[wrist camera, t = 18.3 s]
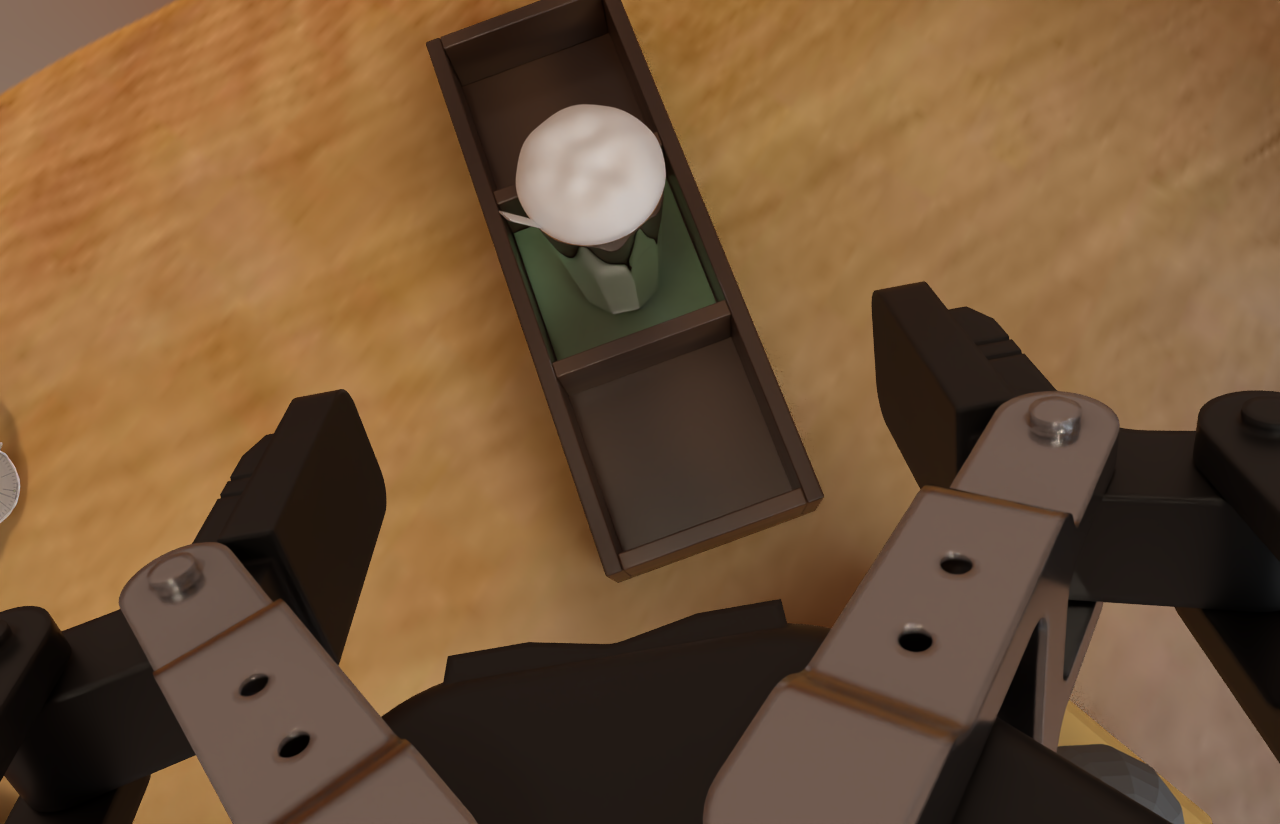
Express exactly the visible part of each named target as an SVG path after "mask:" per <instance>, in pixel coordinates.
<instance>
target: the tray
mask: <svg viewBox="0 0 1280 824" xmlns="http://www.w3.org/2000/svg"><path fill="white" fill-rule="evenodd" d="M426 46H427V49H428V52H429V55H430V58H431V61H432V64H433V67H434V70H435V73H436V76H437V79H438V82H439V85H440V87H441V90H442V93H443V96H444V99H445V102H446V105H447V108H448V111H449V114H450V117H451V120H452V123H453V126H454V129H455V132H456V135H457V138H458V141H459V144H460V147H461V149H462V152H463V155H464V158H465V161H466V164H467V167H468V170H469V173H470V176H471V179H472V182H473V185H474V188H475V191H476V194H477V197H478V200H479V203H480V206H481V209H482V211H483V214H484V217H485V220H486V223H487V226H488V229H489V232H490V235H491V238H492V241H493V244H494V247H495V250H496V253H497V256H498V259H499V262H500V265H501V268H502V271H503V273H504V276H505V279H506V282H507V285H508V288H509V291H510V294H511V297H512V300H513V303H514V306H515V309H516V312H517V315H518V318H519V321H520V324H521V327H522V330H523V332H524V335H525V338H526V341H527V344H528V347H529V350H530V353H531V356H532V359H533V362H534V365H535V368H536V371H537V374H538V377H539V380H540V383H541V386H542V389H543V392H544V394H545V397H546V400H547V403H548V406H549V409H550V412H551V415H552V418H553V421H554V424H555V427H556V430H557V433H558V436H559V439H560V442H561V445H562V448H563V451H564V454H565V456H566V459H567V462H568V465H569V468H570V471H571V474H572V477H573V480H574V483H575V486H576V489H577V492H578V495H579V498H580V501H581V504H582V507H583V510H584V513H585V516H586V518H587V521H588V524H589V527H590V530H591V533H592V536H593V539H594V542H595V545H596V548H597V551H598V554H599V557H600V560H601V563H602V566H603V569H604V572H605V575H606V576H607V577H609V578H610V579H612V580H614V581H616V582H618V583H619V582H622V581H624V580H627V579H630V578H633V577H635V576H638V575H641V574H644V573H646V572H649V571H652V570H654V569H657V568H660V567H663V566H665V565H668V564H671V563H674V562H676V561H679V560H682V559H685V558H687V557H690V556H693V555H695V554H698V553H701V552H704V551H706V550H709V549H712V548H715V547H717V546H720V545H723V544H726V543H728V542H731V541H734V540H737V539H739V538H742V537H745V536H747V535H750V534H753V533H756V532H758V531H761V530H764V529H767V528H769V527H772V526H775V525H778V524H780V523H783V522H786V521H788V520H791V519H794V518H797V517H799V516H802V515H805V514H808V513H810V512H813V511H815V510H816V509H817V507H818V506H819V504H820V502H821V501H822V499H823V498H824V494H823V492H822V489H821V487H820V485H819V482H818V480H817V477H816V475H815V472H814V470H813V468H812V465H811V463H810V460H809V458H808V455H807V453H806V450H805V448H804V446H803V443H802V441H801V438H800V436H799V433H798V431H797V429H796V426H795V424H794V421H793V419H792V416H791V414H790V411H789V409H788V407H787V404H786V402H785V399H784V397H783V394H782V392H781V389H780V387H779V385H778V382H777V380H776V377H775V375H774V372H773V370H772V368H771V365H770V363H769V360H768V358H767V355H766V353H765V350H764V348H763V346H762V343H761V341H760V338H759V336H758V333H757V331H756V329H755V326H754V324H753V321H752V319H751V316H750V314H749V311H748V309H747V307H746V304H745V302H744V299H743V297H742V294H741V292H740V290H739V287H738V285H737V282H736V280H735V277H734V275H733V272H732V270H731V268H730V265H729V263H728V260H727V258H726V255H725V253H724V250H723V248H722V246H721V243H720V241H719V238H718V236H717V233H716V231H715V229H714V226H713V224H712V221H711V219H710V216H709V214H708V211H707V209H706V207H705V204H704V202H703V199H702V197H701V194H700V192H699V190H698V187H697V185H696V182H695V180H694V177H693V175H692V172H691V170H690V168H689V165H688V163H687V160H686V158H685V155H684V153H683V150H682V148H681V146H680V143H679V141H678V138H677V136H676V133H675V131H674V129H673V126H672V124H671V121H670V119H669V116H668V114H667V111H666V109H665V107H664V104H663V102H662V99H661V97H660V94H659V92H658V90H657V87H656V85H655V82H654V80H653V77H652V75H651V72H650V70H649V68H648V65H647V63H646V60H645V58H644V55H643V53H642V51H641V48H640V46H639V43H638V41H637V38H636V36H635V33H634V31H633V29H632V26H631V24H630V21H629V19H628V16H627V14H626V11H625V9H624V7H623V4H622V2H621V0H540V1H537V2H535V3H532V4H529V5H527V6H524V7H521V8H518V9H516V10H513V11H510V12H508V13H505V14H502V15H499V16H497V17H494V18H491V19H488V20H486V21H483V22H480V23H478V24H475V25H472V26H469V27H467V28H464V29H461V30H459V31H456V32H453V33H450V34H448V35H445V36H442V37H441V38H437V39H434V40H431V41H429V42H427V43H426ZM582 104H589V105H601V106H608V107H613V108H617V109H620V110H623V111H625V112H627V113H629V114H631V115H632V116H634V117H635V118H637V119H638V120H640V121H641V122H642V123H643V124H645V125H646V126H647V127H648V128H649V129H650V130H651V131H652V133H653V134H654V135H655V137H656V138H657V140H658V142H659V145H660V147H661V150H662V154H663V158H664V162H665V169H666V180H665V189H664V203H663V214H662V267H661V274H660V281H659V288H658V291H657V292H656V293H655V294H654V295H653V296H652V297H651V298H650V299H649V300H648V301H647V302H646V303H645V304H644V305H643V306H642V307H641V308H640V309H636V310H631V311H626V312H621V313H616V314H612V313H610V312H608V311H606V310H603V309H601V308H599V307H596V306H594V305H592V304H590V303H589V302H588V300H587V299H586V297H585V296H584V294H583V293H582V291H581V290H580V288H579V286H578V285H577V283H576V282H575V280H574V279H573V277H572V276H571V274H570V272H569V271H568V269H567V268H566V266H565V265H564V263H563V262H562V260H561V259H560V258H559V256H558V255H557V254H556V252H555V251H554V250H553V248H552V247H551V246H550V244H549V243H548V242H547V241H546V239H545V238H544V237H543V235H542V234H541V233H540V231H539V230H538V229H537V228H535V227H531V226H527V225H523V224H519V223H515V222H511V221H509V220H507V219H506V218H505V217H504V216H503V215H502V214H500V213H499V211H503V212H507V213H511V214H514V215H518V216H522V217H526V218H529V217H528V215H527V214H526V212H525V211H524V209H523V207H522V205H521V203H520V201H519V198H518V195H517V190H516V172H517V165H518V159H519V155H520V151H521V148H522V146H523V144H524V142H525V140H526V139H527V137H528V136H529V135H530V133H531V132H532V131H533V130H535V129H536V128H537V127H538V126H539V125H541V124H542V123H543V122H544V121H545V120H547V119H548V118H549V117H551V116H552V115H553V114H555V113H556V112H558V111H560V110H562V109H565V108H567V107H570V106H574V105H582ZM529 219H530V218H529Z"/></svg>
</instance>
